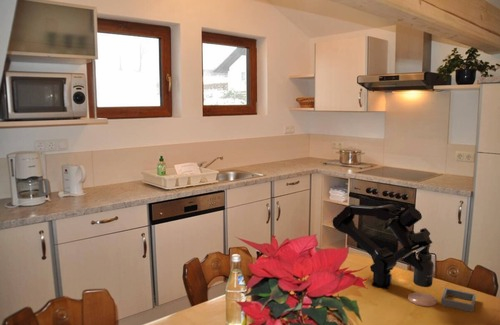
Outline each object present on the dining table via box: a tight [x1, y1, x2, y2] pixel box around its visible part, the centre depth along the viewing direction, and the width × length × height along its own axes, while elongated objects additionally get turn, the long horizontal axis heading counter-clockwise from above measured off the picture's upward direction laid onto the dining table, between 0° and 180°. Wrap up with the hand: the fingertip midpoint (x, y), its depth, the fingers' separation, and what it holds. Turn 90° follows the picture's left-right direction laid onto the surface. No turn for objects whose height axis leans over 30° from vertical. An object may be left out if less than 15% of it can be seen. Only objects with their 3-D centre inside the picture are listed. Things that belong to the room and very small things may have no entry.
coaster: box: [407, 292, 437, 308], centre depth 158 cm, size 10×10×1 cm
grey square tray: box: [440, 287, 477, 313], centre depth 156 cm, size 11×11×2 cm
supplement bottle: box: [412, 251, 435, 288], centre depth 157 cm, size 7×7×12 cm
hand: (427, 268), depth 156 cm, fingers closed on supplement bottle, 7 cm apart
